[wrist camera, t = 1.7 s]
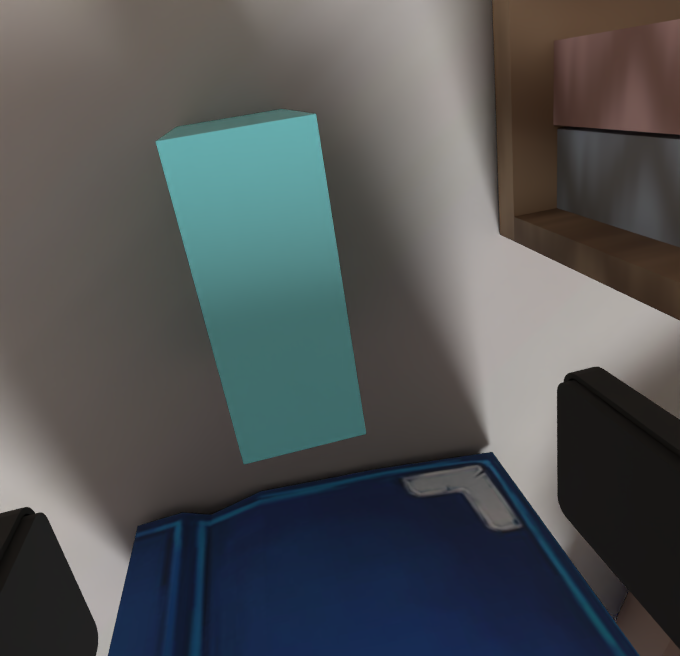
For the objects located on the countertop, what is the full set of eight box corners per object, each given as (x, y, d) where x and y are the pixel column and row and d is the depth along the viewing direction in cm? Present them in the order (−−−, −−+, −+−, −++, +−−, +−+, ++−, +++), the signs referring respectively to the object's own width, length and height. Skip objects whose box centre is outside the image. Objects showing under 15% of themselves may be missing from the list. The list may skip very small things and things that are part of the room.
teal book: (176, 126, 23) (155, 141, 15) (281, 108, 24) (316, 113, 16) (235, 357, 28) (243, 464, 20) (323, 337, 28) (366, 433, 20)
